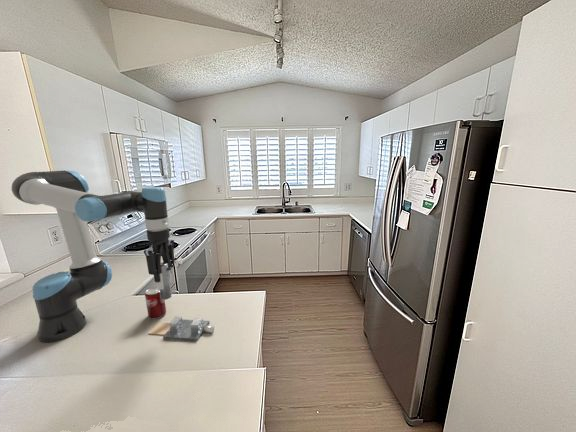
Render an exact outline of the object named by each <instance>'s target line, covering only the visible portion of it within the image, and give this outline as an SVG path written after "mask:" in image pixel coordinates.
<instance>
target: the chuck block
mask: <svg viewBox="0 0 576 432" xmlns="http://www.w3.org/2000/svg"><path fill="white" fill-rule="evenodd" d="M168 323H169V327H170V329H169V330H168V331H167V332H166V334H165V335H162V339H163V340H176V341H194V342H198V341H199V339H200V338H201V336H203V334H204V333H211V334H213V333H214V331H215V326H214V325H209V324H210V320H204V319H203V317H195V318H194V319H185V318H184V319H183V317H182V316H174V317H173V319H171V321H169V322H168Z"/></svg>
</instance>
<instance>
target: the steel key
mask: <svg viewBox="0 0 576 432" xmlns="http://www.w3.org/2000/svg"><path fill="white" fill-rule="evenodd" d="M172 269H173V267H172V268H171V266H168V263H167V262H163V261H161V266H160V273H162V277H163V285H164V289H163V290H162V289H159V291H160V299H162V300H165V301H166V300H168V299H171V297H172V287H171V284H170V278H169V270H171V271H172Z"/></svg>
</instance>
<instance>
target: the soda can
mask: <svg viewBox="0 0 576 432" xmlns="http://www.w3.org/2000/svg"><path fill="white" fill-rule="evenodd" d="M144 298H145V303H146V304H145V305H146V310H147V311H146V312H147V317H148V318H149V319H151V320H156V319H161V318H162V317H163V316H165V315H166V313H167V306H166V300H162V299H160V291H159V289H156V286H154V287H150V288H149V289H146V291H145V292H144Z"/></svg>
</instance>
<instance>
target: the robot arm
mask: <svg viewBox="0 0 576 432" xmlns="http://www.w3.org/2000/svg"><path fill="white" fill-rule="evenodd" d="M89 190H90V188H89V183H88V182H87V180H86V178H85V177H84V176H83V175H82V174H81V173H79V172H78V171H75V170H51V171H49V170H48V171H31V172H26V173H22V174H21V175H19V176H17V177H16V178H15V179H14V180H13V182H12V184H11V192H12V195H13V196H14V197H15V198H16V199H18V201H20V202H22V203H25V204H29V205H34V206H37V205H44V206H49V207H53V208H54V209H56V213H57V216H58V219H59V222H60V226H61V231H62V232H63V236H64V239H65V243H66V245H67V249H68V251H69V252H68V253H69V256H70V259H71V264H70V265H69V267H68V269H69V271H58V272H55V273H50V274H48V275H46V276H44V277H42V278H40V279H39V280H37V281H36V282H35V283H34V284H33V285H32V290H31V291H32V298H33V300H34V303H35V306H36V310H37V313H38V318H39V322H38V323H39V324H38V330H37V334H36V336H37V340H38V341H39V342H41V343H52V342H53V343H54V342H57V341H60V340H63V339H64V340H65V339H67V338H69V337H71V336H74V335H76V334H78V333H79V331H81V330H82V329H84V328H85V327H86V325H87V318H86V316H85V314H84V313H83V312H82V311H81V310H80V308H79V307H78V303H77V302H78V301H77V300H79V299H81V298H83V297H85V296H87V295H89V294H92V293H95V292H96V291H99V290H101V289H102V288H103V287H105V286H108V284H110V282H111V281H112V278H113V270H112V268H111V266H110V265H109V263H108V262H107V261H104V260H103V259H102V258H101V257H99V256H97V252H96V249H95V246H94V242H93V238H92V235H91V232H90V228H89V224H88V222H93V221H94V222H96V221H101V220H105V219H108V218H112V217H117V216H122V215H127V214H130V213H131V214H132V213H144V219H145V220H144V221H145V222H144V223H145V229H146V237H147V241H149V245H148V246H149V248H148V249H144V251H143V253H144V255H145V259H146V265H147V271H148V275H151V276H153V277H154V278H153V279H154V280H153V281H154V282H155V287H156V289H162V290H163V289H164V285H163V277H162V273H160V266H161V263H162V262H167V263H168V266H171V268H172V269H173V267H174V264H175V248H174V244H175V240H174V239H173V240H172V239H169V238H170V237H171V235H170V234H171V233H170V228H169V217H168V206H167V196H166V190H165V188H164V187H162V186H146V187H142V188H141V191H133V190H128V191H127V190H126V191H125V190H124V191H123V190H122V191H119V192H118V193H113V194H103V195H98V194H94V193H89ZM172 269H171V270H169V278H170V285H171V284H173V280H172V279H173V278H172Z"/></svg>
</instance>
